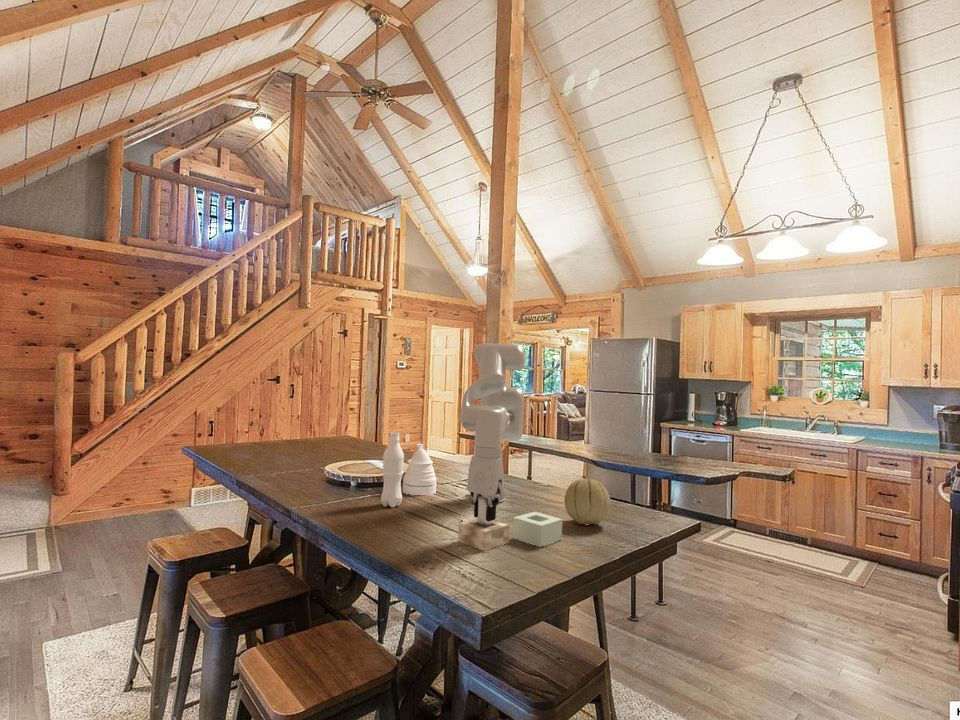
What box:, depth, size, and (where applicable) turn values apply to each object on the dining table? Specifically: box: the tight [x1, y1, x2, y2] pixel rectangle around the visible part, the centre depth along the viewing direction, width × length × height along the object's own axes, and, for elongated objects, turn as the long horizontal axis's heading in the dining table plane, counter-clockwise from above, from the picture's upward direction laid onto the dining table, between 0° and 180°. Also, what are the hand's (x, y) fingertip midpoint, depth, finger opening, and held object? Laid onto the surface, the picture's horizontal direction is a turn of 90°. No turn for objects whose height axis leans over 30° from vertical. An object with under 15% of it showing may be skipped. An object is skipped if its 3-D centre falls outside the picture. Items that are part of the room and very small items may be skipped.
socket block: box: [457, 518, 511, 552], centre depth 143 cm, size 10×10×5 cm
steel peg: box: [476, 496, 493, 528], centre depth 143 cm, size 4×4×12 cm
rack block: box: [512, 511, 563, 548], centre depth 147 cm, size 10×10×6 cm
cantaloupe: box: [564, 475, 611, 525], centre depth 165 cm, size 15×15×15 cm
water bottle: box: [380, 431, 405, 508], centre depth 177 cm, size 7×7×25 cm
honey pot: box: [402, 443, 437, 496], centre depth 199 cm, size 13×13×18 cm
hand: (484, 517), depth 143 cm, fingers closed on steel peg, 4 cm apart
